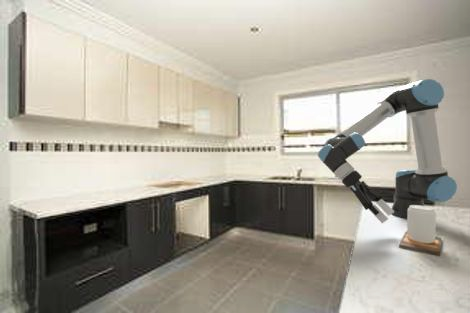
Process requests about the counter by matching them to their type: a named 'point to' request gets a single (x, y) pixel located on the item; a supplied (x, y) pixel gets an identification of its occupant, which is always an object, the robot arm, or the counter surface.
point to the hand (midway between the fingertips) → (388, 217)
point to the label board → (421, 245)
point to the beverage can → (421, 224)
